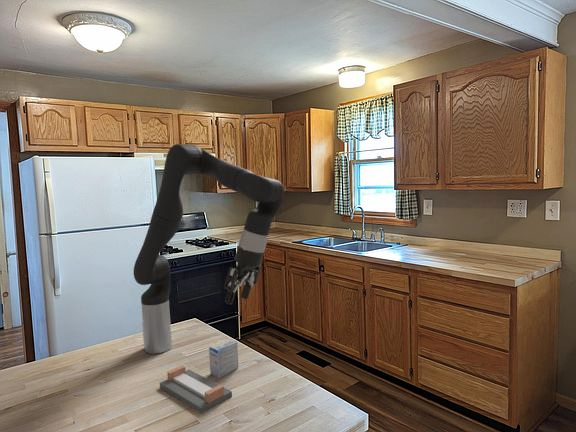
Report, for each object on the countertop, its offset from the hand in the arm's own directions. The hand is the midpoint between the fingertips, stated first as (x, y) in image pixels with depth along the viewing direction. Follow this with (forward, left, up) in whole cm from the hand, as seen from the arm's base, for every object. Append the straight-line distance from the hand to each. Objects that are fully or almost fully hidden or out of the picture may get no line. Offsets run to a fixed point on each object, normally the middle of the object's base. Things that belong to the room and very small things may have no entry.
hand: (236, 300), depth 113 cm
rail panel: (-6, -12, -24) cm, 28 cm away
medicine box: (-9, +1, -25) cm, 26 cm away
